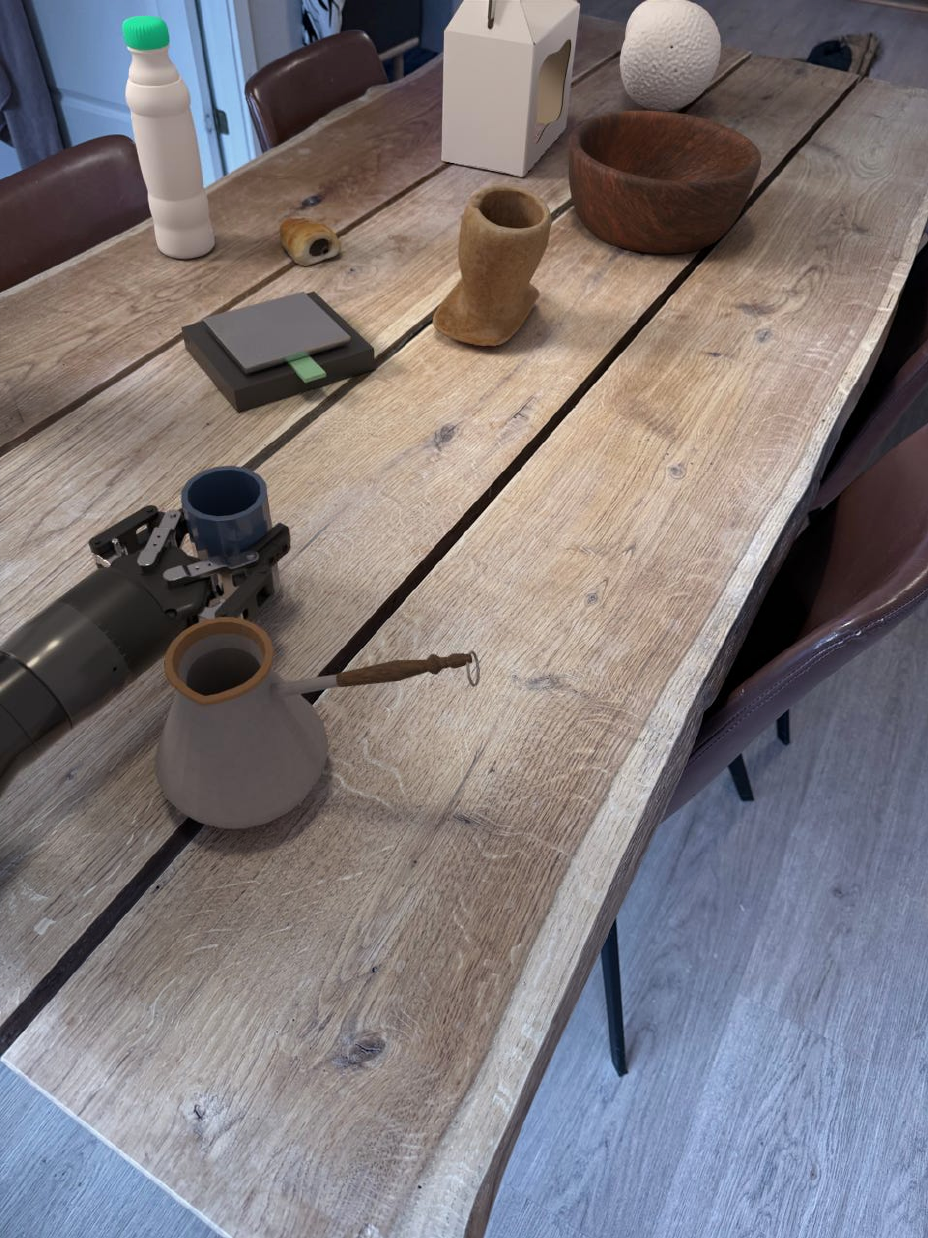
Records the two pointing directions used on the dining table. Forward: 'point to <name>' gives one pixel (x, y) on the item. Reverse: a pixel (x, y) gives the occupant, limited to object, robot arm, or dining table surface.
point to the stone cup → (495, 265)
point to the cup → (227, 514)
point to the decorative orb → (669, 53)
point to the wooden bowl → (659, 179)
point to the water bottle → (166, 142)
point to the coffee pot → (251, 723)
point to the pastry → (308, 241)
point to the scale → (282, 377)
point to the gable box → (506, 81)
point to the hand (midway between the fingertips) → (252, 515)
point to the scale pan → (275, 332)
